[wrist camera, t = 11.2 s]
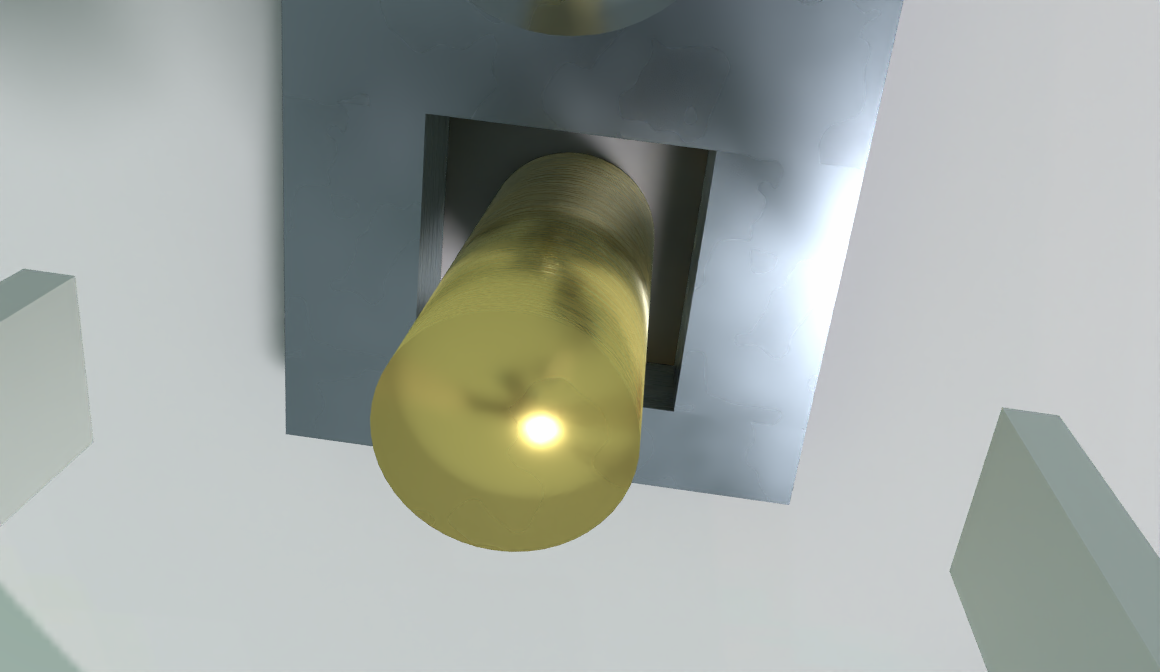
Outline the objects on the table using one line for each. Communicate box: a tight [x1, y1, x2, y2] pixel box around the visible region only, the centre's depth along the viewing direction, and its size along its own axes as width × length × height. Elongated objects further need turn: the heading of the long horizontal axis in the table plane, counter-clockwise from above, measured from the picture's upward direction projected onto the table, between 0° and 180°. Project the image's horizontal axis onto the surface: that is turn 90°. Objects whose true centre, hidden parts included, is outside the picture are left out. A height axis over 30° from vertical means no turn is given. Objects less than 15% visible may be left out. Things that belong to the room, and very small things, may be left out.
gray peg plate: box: [282, 0, 903, 505], centre depth 18 cm, size 18×12×8 cm, turn 174°
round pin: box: [370, 152, 654, 552], centre depth 19 cm, size 4×4×10 cm
